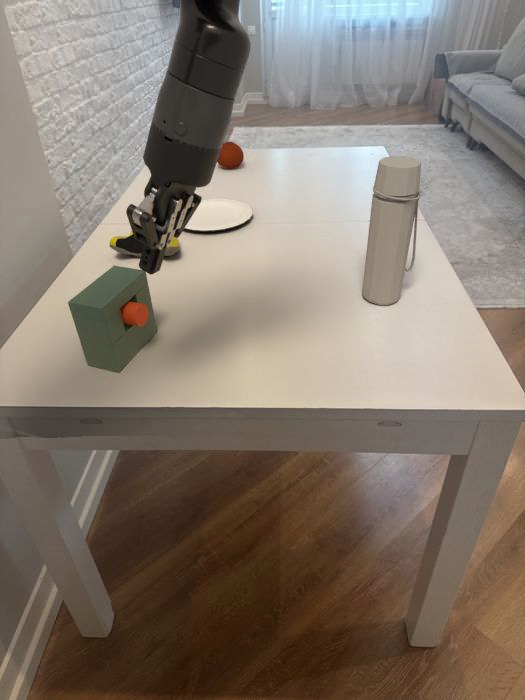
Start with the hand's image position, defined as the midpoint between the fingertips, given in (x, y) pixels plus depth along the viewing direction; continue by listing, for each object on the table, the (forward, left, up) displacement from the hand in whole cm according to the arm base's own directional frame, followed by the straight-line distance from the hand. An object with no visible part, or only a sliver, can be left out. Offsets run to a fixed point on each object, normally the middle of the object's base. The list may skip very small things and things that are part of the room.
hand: (148, 269), depth 60 cm
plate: (+43, +51, -21) cm, 70 cm away
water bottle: (+45, -3, -21) cm, 50 cm away
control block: (0, +16, -21) cm, 26 cm away
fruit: (+72, +82, -21) cm, 111 cm away
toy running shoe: (+21, +44, -21) cm, 53 cm away
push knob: (+2, +12, -15) cm, 20 cm away
